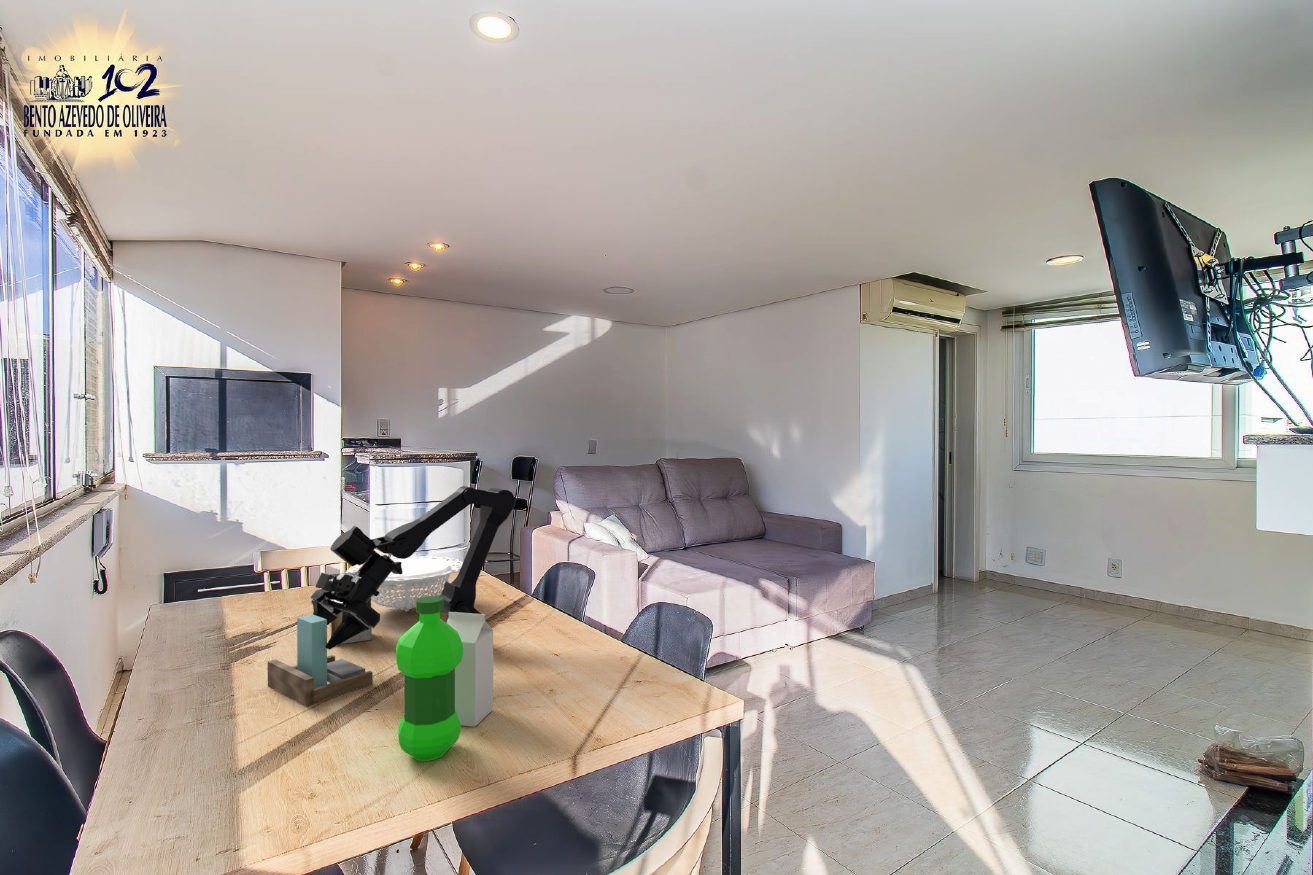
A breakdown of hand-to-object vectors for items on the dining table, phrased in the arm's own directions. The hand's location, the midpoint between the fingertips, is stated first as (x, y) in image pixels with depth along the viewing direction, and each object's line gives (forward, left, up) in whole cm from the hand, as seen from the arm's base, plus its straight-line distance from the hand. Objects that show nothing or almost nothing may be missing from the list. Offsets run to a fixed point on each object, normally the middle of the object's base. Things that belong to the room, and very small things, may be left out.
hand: (315, 643), depth 131 cm
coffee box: (+15, -25, -9) cm, 31 cm away
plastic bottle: (-39, +15, -9) cm, 42 cm away
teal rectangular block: (0, +1, -9) cm, 9 cm away
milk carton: (-37, +2, -9) cm, 38 cm away
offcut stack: (-2, -5, -9) cm, 10 cm away
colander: (+18, -49, -9) cm, 53 cm away
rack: (0, -1, -9) cm, 9 cm away
